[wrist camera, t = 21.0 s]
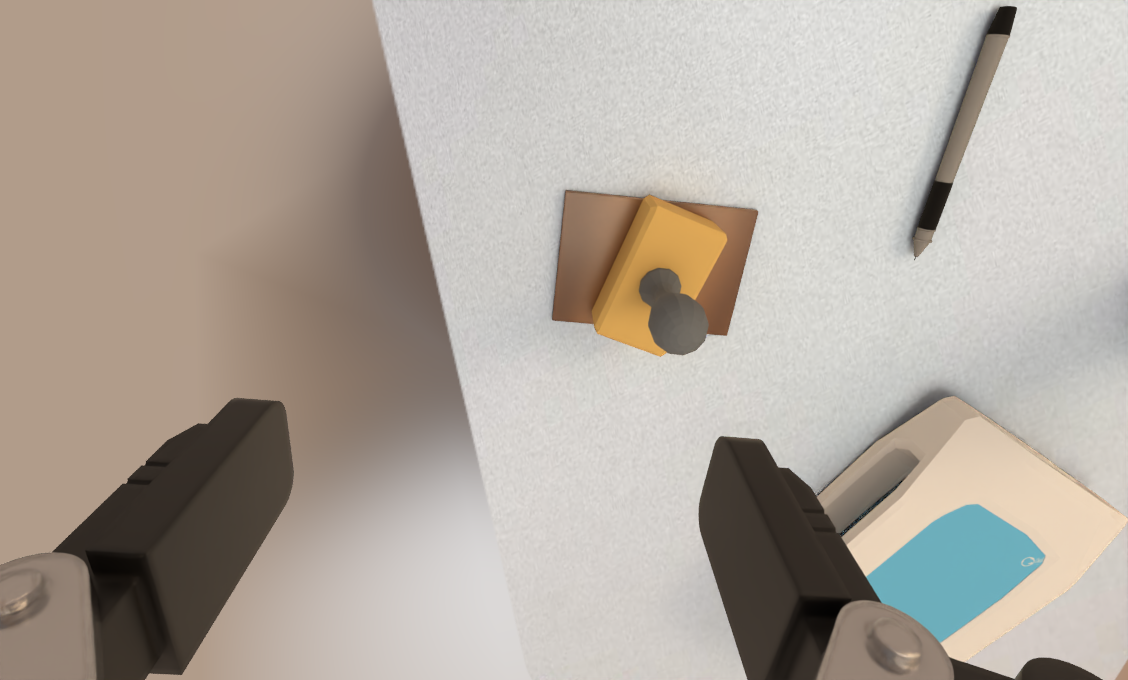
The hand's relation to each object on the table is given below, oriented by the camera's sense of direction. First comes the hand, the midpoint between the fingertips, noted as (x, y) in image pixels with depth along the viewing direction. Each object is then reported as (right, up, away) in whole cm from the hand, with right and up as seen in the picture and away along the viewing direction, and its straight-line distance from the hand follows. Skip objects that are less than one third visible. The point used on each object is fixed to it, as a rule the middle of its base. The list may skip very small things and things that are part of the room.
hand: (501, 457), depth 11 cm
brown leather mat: (+8, +8, +32) cm, 34 cm away
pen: (+28, +16, +29) cm, 43 cm away
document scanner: (+34, -17, +45) cm, 59 cm away
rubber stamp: (+8, +8, +32) cm, 34 cm away
